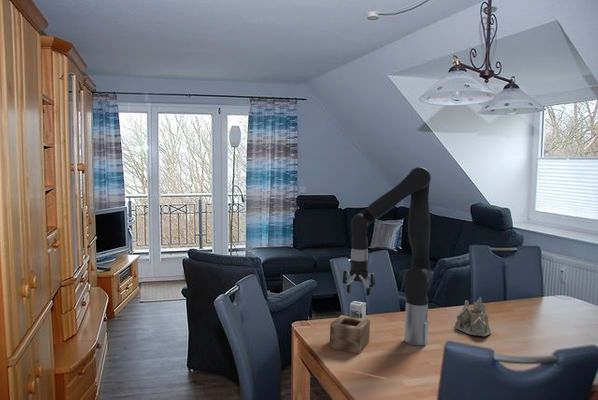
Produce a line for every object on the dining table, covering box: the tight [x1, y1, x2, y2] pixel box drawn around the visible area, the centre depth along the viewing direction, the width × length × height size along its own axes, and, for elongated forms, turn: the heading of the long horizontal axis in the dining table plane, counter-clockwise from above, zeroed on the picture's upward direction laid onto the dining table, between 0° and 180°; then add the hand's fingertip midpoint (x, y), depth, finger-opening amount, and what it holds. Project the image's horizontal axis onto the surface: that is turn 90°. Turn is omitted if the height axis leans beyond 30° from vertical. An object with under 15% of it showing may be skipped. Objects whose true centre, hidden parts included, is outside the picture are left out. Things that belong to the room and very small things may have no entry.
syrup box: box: [349, 300, 367, 319], centre depth 201 cm, size 6×6×14 cm
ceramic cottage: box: [454, 297, 492, 337], centre depth 208 cm, size 16×16×15 cm
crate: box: [329, 314, 371, 355], centre depth 189 cm, size 13×13×10 cm
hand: (358, 294), depth 201 cm, fingers open, 8 cm apart
